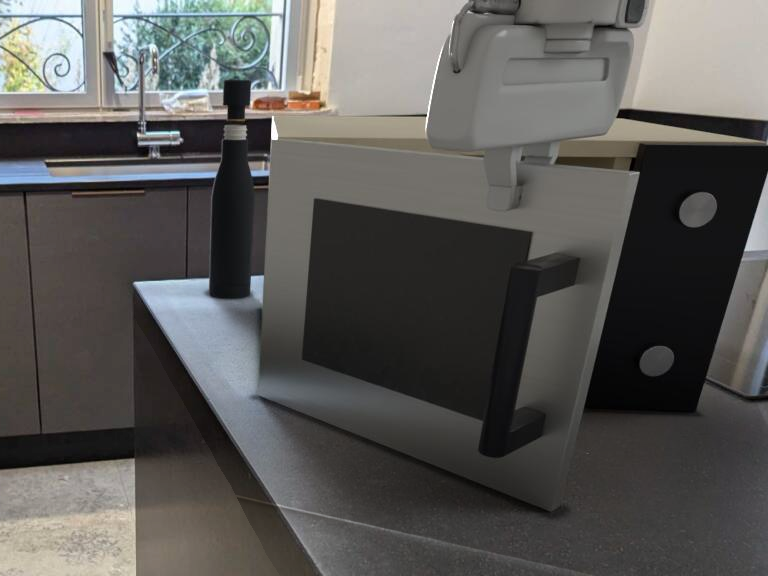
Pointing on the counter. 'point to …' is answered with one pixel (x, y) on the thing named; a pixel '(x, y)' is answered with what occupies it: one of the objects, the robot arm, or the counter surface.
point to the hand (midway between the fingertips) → (512, 207)
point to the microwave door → (440, 305)
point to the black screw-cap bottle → (232, 202)
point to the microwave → (634, 243)
